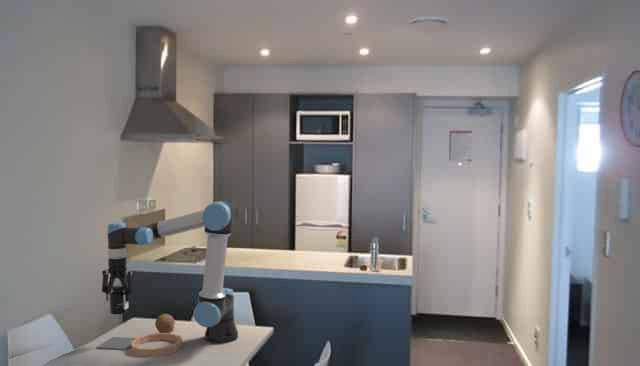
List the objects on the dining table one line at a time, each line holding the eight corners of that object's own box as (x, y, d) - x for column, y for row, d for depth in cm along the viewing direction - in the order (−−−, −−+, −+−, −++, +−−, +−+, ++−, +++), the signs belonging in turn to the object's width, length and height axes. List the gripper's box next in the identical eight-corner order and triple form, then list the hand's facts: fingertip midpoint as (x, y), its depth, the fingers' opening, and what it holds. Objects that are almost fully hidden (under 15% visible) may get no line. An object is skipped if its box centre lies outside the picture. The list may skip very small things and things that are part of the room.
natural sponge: (158, 331, 259) (158, 311, 259) (177, 331, 259) (177, 311, 259) (153, 337, 250) (152, 316, 250) (172, 337, 250) (171, 316, 250)
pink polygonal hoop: (189, 340, 246) (188, 334, 246) (169, 357, 225) (169, 350, 225) (146, 338, 249) (145, 332, 249) (122, 354, 229) (122, 347, 229)
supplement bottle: (121, 315, 238) (120, 288, 237) (107, 314, 239) (106, 287, 239) (129, 310, 244) (128, 284, 244) (115, 310, 246) (115, 284, 245)
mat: (141, 339, 248) (141, 338, 248) (125, 350, 234) (125, 348, 234) (113, 338, 250) (113, 336, 250) (96, 348, 237) (96, 347, 237)
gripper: (141, 256, 243) (142, 306, 244) (101, 255, 246) (102, 305, 247) (133, 259, 235) (134, 311, 236) (92, 258, 239) (93, 309, 240)
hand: (118, 308), depth 242 cm, fingers closed on supplement bottle, 7 cm apart
